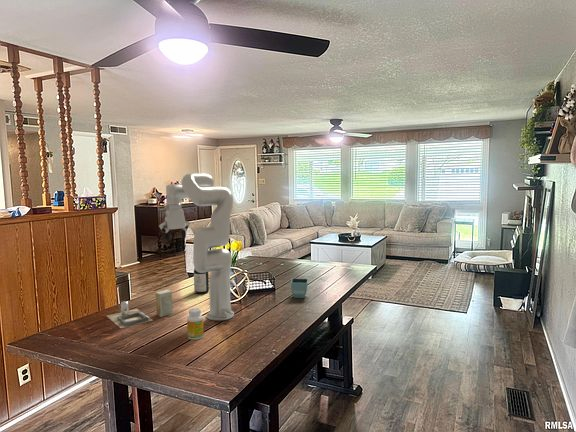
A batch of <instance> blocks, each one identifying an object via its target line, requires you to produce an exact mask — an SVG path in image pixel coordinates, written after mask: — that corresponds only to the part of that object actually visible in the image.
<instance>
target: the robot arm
mask: <svg viewBox="0 0 576 432" xmlns="http://www.w3.org/2000/svg"><path fill="white" fill-rule="evenodd" d="M214 183H215V180H214V179H213V176H211V175H210V174H209V173H205V172H204V173H193V172H192V173H186V174H184V176H183V177H182V179H181V184H180V183H179V184H177V183H176V184H168V185H166V187H165V188H166V190H165V191H166V193H165V194H166V205H164V209H166V210H165V214H164V221H163V222H162V223H161V224H158V228H160V230H161V231H162V233H164V234H163V238H164V240H165V241H168V242H169V240H170V239H169V238H170V237H169V231H170V230H179V229H180V230H181V238H182V239H186V238H187V237H186V236H187V231H188V228H189V227H190V225H191V223H190V221H188V220H186V218H185V213H184V209H183V208H182V199H190V201H191V203H193V204H194V205H195V206H197V207H208V206H216V207H215V208H214V209H213V211H212V214H211V216H210V225H209V226H205V227H204V226H203V227H200V228H198V229H197V230H196V231H195V232H194V234H193V256H192V257H193V258H192V259H193V269H194V268H195V270H196V271H197V272H199V273H205V272H208V273H209V272H211V273H210V274H209V291H208V295H209V296H208V297H209V312H208V311H207V313H206V318H207V319H208V320H210V321H215V322H216V321H217V322H218V321H219V322H220V321H227V320H230V319H232V318H234V316H235V312H234V311H233V310H232V306H231V305H232V304H231V267H232V261H233V259H232V253H231V251H229V249H226V248H221V247H225V246H227V245H228V243H229V241H230V232H231V231H230V230H231V228H230V227H231V215H232V214H231V213H232V210H233V206H234V205H233V204H234V197H233V193H232V191H231V190H230V189H229V188H228V187H226V186H225V187H224V186H214Z"/></svg>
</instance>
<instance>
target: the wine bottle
mask: <svg viewBox="0 0 576 432" xmlns="http://www.w3.org/2000/svg"><path fill="white" fill-rule="evenodd" d="M209 278H210V273H209V272H205V273H199V272H197V271H196V270H195V268H194V267H193V285H194V287H193V291H194V293H195V294H197V295H204V294H207V293H209Z"/></svg>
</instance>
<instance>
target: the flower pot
mask: <svg viewBox="0 0 576 432" xmlns="http://www.w3.org/2000/svg"><path fill="white" fill-rule="evenodd" d="M308 283H309V279H308V278H292V279H291V281H290V289H291V294H292V296H293V298H295V299H305V297H306V295H307V291H308Z"/></svg>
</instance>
